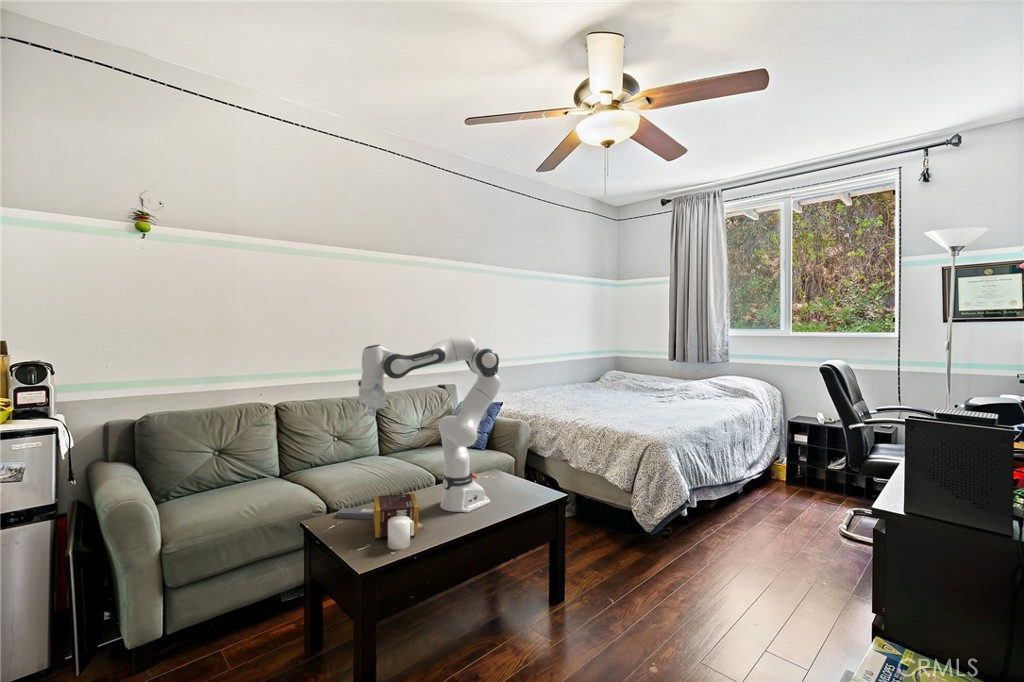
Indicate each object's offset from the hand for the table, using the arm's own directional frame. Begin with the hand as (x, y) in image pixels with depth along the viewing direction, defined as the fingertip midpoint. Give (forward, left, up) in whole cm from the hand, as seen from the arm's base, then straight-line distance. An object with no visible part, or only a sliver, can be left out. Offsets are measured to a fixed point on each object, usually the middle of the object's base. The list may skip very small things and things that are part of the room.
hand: (372, 416), depth 200 cm
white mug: (+4, +34, -41) cm, 53 cm away
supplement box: (+7, +20, -35) cm, 41 cm away
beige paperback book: (-4, +18, -41) cm, 45 cm away
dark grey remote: (+6, +1, -42) cm, 42 cm away
